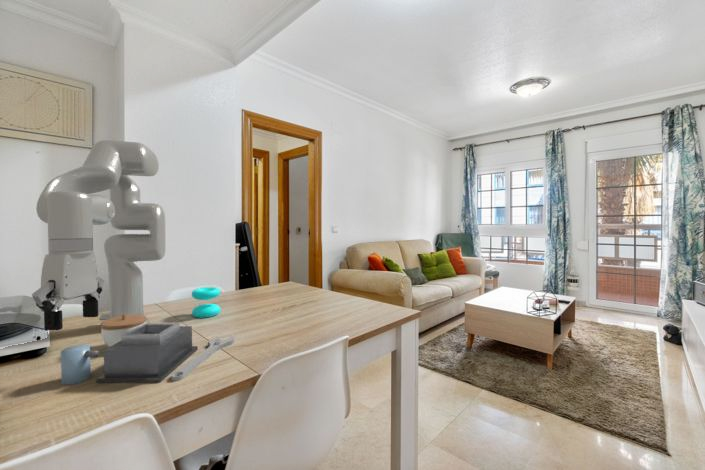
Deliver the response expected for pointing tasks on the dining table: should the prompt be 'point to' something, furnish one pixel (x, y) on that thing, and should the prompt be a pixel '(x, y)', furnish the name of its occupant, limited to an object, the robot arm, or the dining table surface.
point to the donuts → (206, 309)
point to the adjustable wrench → (202, 357)
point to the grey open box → (147, 353)
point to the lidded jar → (120, 327)
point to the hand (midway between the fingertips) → (73, 322)
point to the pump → (76, 364)
